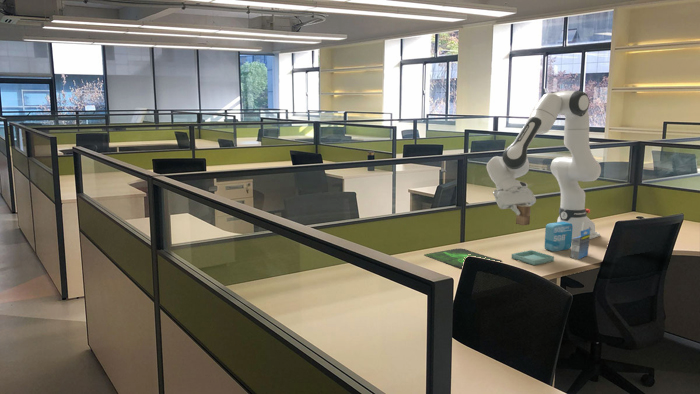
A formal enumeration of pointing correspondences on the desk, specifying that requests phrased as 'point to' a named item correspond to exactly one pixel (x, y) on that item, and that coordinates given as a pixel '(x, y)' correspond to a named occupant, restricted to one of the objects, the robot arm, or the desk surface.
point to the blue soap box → (558, 236)
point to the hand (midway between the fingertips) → (524, 214)
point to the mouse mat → (455, 256)
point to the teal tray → (532, 257)
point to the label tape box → (580, 245)
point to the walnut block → (523, 215)
